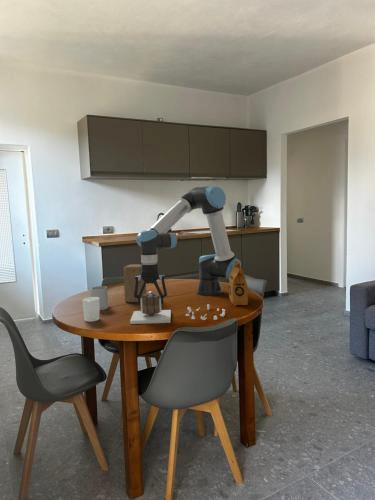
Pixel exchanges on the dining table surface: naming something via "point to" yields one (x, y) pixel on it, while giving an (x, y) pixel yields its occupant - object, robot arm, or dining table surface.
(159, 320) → the white flat block
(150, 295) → the post
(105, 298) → the mug
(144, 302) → the walnut bead
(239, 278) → the coffee package
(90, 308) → the white cup
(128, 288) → the wooden block
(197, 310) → the game piece set
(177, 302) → the dining table surface
